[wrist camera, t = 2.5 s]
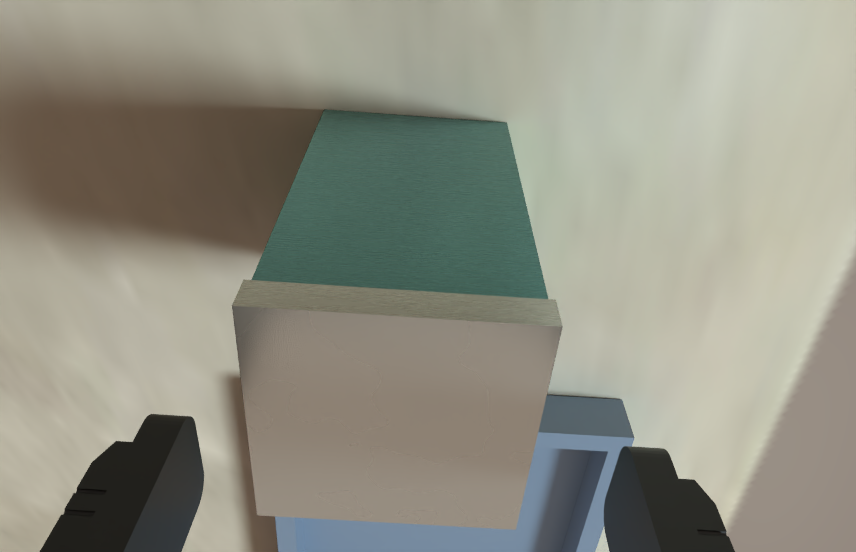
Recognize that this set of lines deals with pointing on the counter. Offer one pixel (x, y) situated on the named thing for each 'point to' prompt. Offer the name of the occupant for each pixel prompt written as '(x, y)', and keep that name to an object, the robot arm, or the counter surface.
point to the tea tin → (397, 329)
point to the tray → (542, 502)
